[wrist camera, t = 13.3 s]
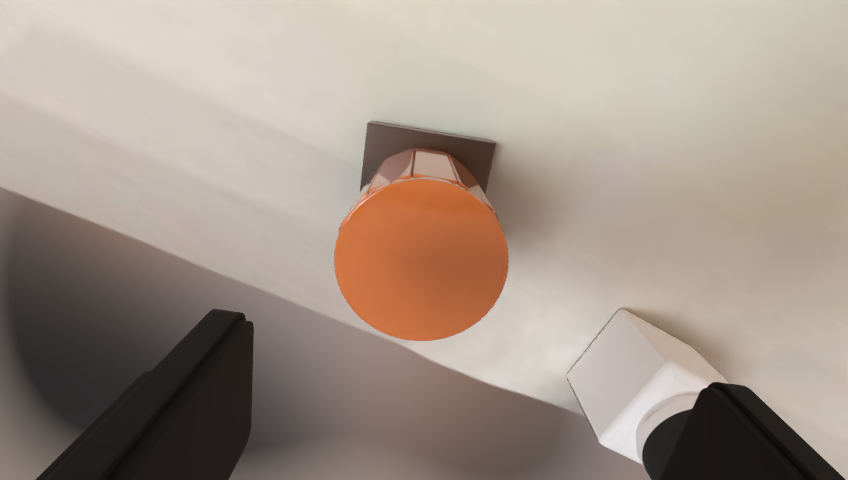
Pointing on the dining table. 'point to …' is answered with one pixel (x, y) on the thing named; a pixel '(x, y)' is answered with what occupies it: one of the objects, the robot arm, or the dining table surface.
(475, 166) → the stand
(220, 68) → the dining table surface
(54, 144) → the dining table surface
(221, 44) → the dining table surface
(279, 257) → the dining table surface
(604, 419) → the medicine bottle
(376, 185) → the cup
